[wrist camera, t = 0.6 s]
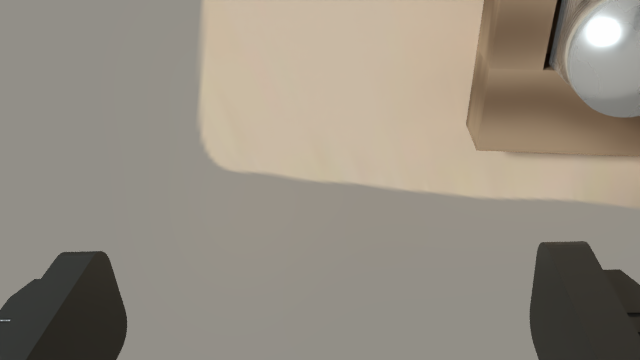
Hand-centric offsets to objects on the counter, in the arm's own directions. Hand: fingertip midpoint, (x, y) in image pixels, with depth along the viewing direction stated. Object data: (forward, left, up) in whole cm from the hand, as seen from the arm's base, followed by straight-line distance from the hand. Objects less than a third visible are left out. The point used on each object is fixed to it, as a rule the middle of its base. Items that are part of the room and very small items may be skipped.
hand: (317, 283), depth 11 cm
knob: (-9, +9, -22) cm, 26 cm away
